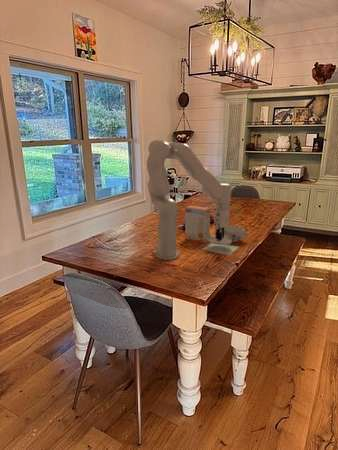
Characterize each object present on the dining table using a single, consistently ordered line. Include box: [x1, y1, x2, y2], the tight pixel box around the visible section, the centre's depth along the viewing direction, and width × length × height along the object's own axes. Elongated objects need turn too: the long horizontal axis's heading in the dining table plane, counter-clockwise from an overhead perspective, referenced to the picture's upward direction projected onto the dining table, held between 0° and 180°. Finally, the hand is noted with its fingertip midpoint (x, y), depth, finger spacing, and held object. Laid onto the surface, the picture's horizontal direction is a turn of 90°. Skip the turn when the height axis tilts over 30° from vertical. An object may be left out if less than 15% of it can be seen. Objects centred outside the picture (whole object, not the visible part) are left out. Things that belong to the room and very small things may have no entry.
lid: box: [207, 229, 233, 245], centre depth 177 cm, size 14×14×6 cm
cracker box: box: [184, 204, 211, 244], centre depth 190 cm, size 14×6×21 cm, turn 54°
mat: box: [202, 243, 240, 256], centre depth 180 cm, size 16×15×1 cm
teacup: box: [224, 225, 249, 243], centre depth 190 cm, size 15×12×8 cm
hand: (219, 237), depth 177 cm, fingers closed on lid, 3 cm apart
